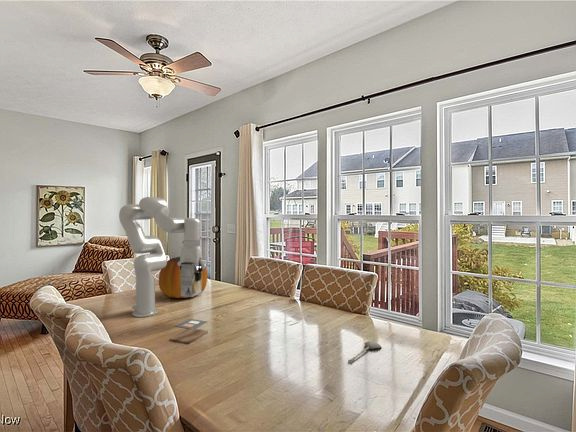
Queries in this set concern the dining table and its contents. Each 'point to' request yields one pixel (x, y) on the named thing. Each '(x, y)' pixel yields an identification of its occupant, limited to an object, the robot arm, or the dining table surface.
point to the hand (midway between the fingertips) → (191, 279)
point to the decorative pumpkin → (175, 279)
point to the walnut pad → (188, 335)
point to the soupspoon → (369, 346)
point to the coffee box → (189, 280)
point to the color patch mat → (191, 323)
